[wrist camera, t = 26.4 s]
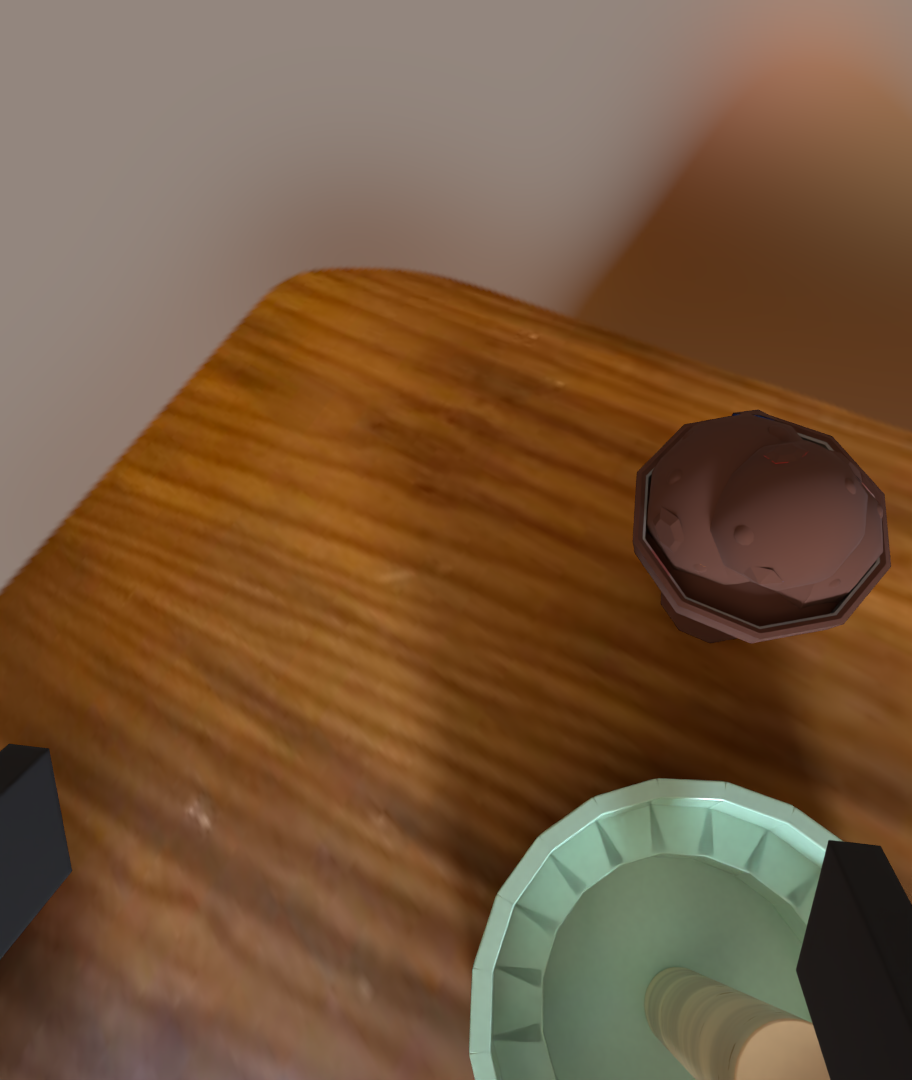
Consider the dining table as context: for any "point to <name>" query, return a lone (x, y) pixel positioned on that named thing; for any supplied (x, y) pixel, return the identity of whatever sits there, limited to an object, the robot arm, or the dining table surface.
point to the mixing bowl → (639, 926)
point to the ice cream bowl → (758, 529)
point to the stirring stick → (729, 1031)
